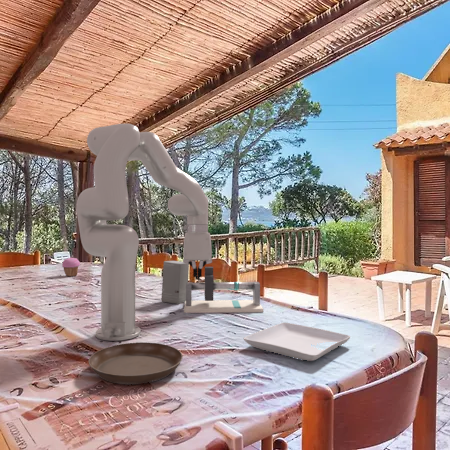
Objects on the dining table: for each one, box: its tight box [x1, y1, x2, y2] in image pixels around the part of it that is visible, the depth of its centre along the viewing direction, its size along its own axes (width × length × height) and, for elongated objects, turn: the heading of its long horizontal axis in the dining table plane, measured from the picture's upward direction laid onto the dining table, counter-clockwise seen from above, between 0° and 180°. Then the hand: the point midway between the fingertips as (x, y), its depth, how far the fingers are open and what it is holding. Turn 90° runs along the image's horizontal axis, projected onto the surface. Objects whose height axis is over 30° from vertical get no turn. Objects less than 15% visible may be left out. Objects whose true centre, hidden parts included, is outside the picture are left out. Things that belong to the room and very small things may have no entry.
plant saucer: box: [88, 341, 184, 385], centre depth 92 cm, size 21×21×3 cm
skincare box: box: [161, 260, 190, 305], centre depth 160 cm, size 8×7×16 cm
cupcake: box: [61, 257, 81, 277], centre depth 219 cm, size 9×9×10 cm
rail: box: [186, 281, 261, 306], centre depth 151 cm, size 4×27×8 cm, turn 94°
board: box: [183, 299, 264, 314], centre depth 151 cm, size 14×28×1 cm, turn 94°
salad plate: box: [243, 322, 351, 362], centre depth 108 cm, size 21×21×3 cm
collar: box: [204, 266, 215, 301], centre depth 150 cm, size 9×3×11 cm, turn 4°
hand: (197, 279), depth 150 cm, fingers closed
